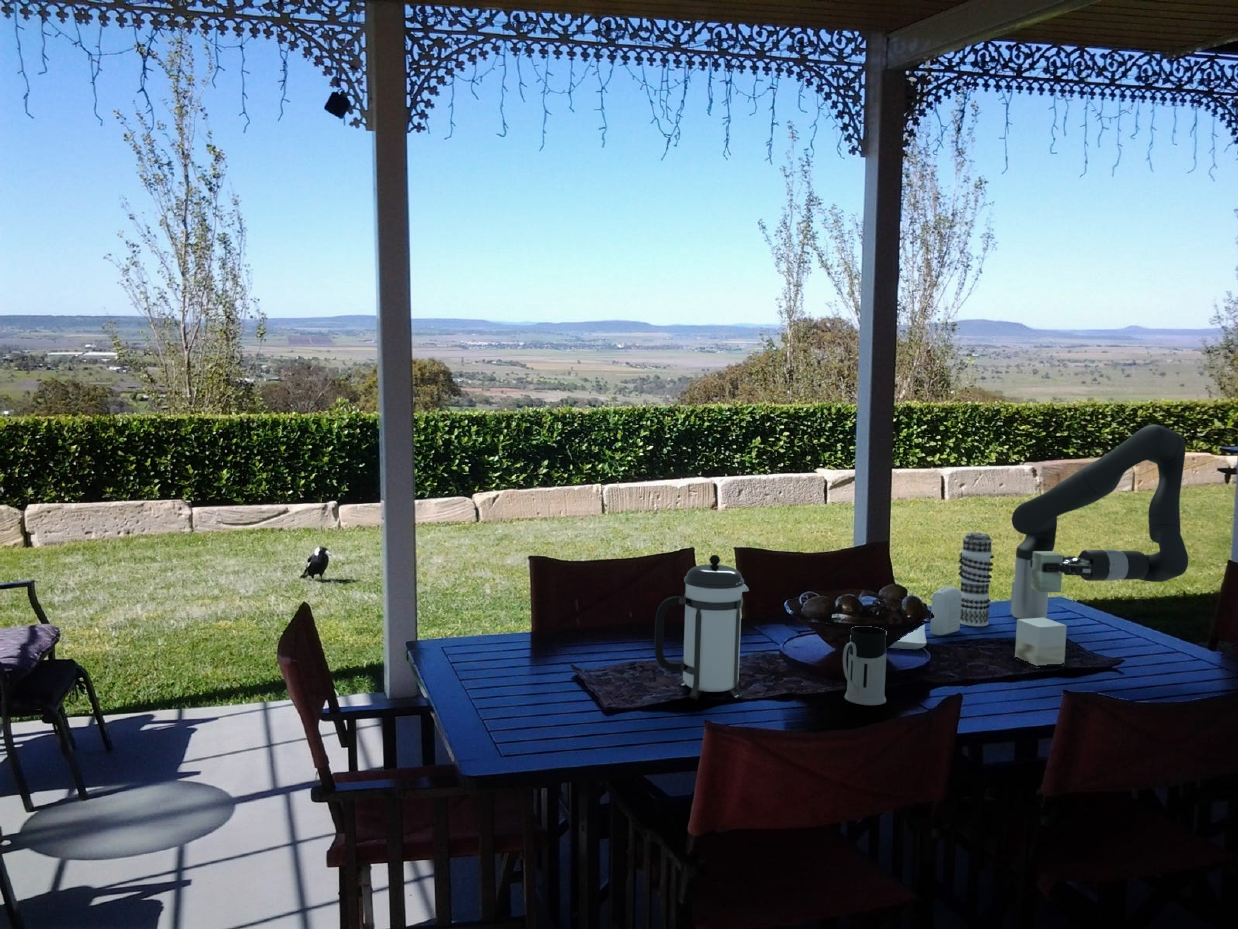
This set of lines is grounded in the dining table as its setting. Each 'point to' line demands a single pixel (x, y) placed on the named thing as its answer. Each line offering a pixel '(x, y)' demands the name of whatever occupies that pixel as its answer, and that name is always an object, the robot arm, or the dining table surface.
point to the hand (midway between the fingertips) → (1036, 565)
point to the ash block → (1040, 654)
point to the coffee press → (707, 629)
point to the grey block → (1041, 632)
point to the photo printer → (946, 611)
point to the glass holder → (866, 665)
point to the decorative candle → (975, 579)
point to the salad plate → (912, 640)
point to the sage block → (1045, 580)
